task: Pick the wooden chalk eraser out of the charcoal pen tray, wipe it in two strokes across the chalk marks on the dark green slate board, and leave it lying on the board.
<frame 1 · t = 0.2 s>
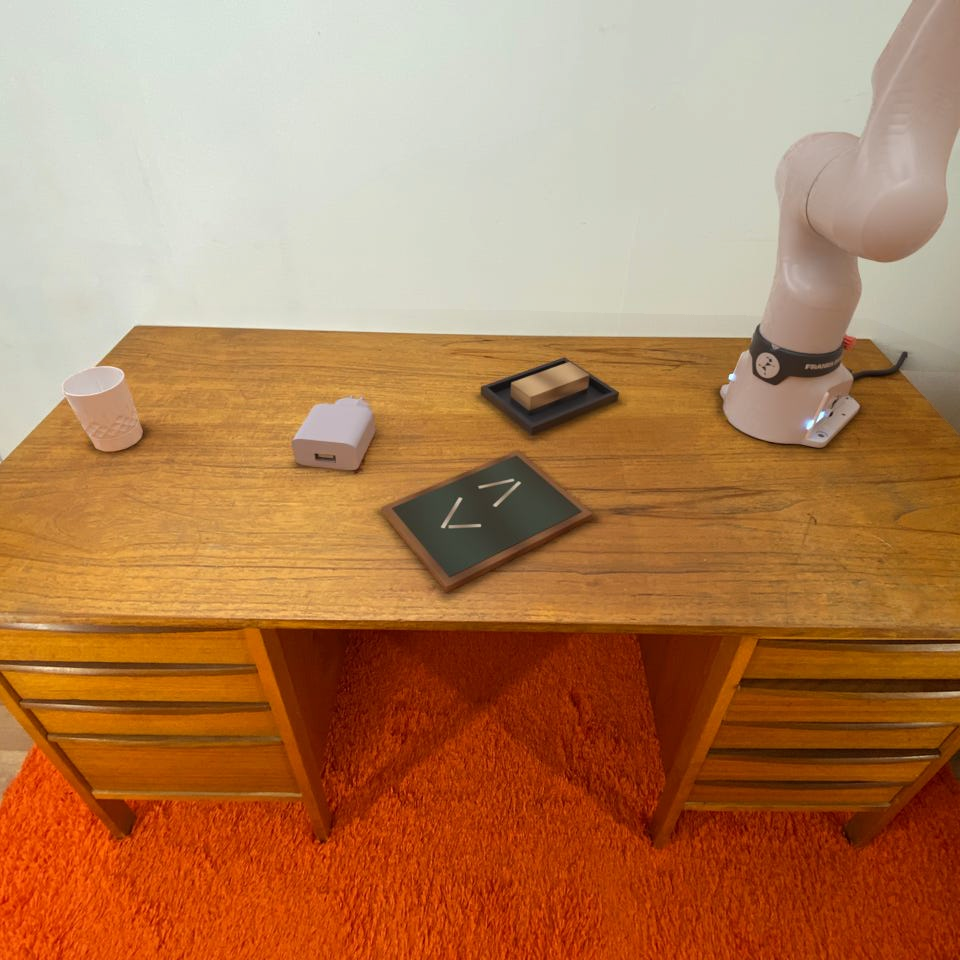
charger: (344, 438, 96), on the table
board: (486, 516, 82), on the table
pen tray: (548, 400, 104), on the table
eraser: (549, 397, 103), point 1 cm above the table, touching pen tray
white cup: (119, 439, 95), on the table
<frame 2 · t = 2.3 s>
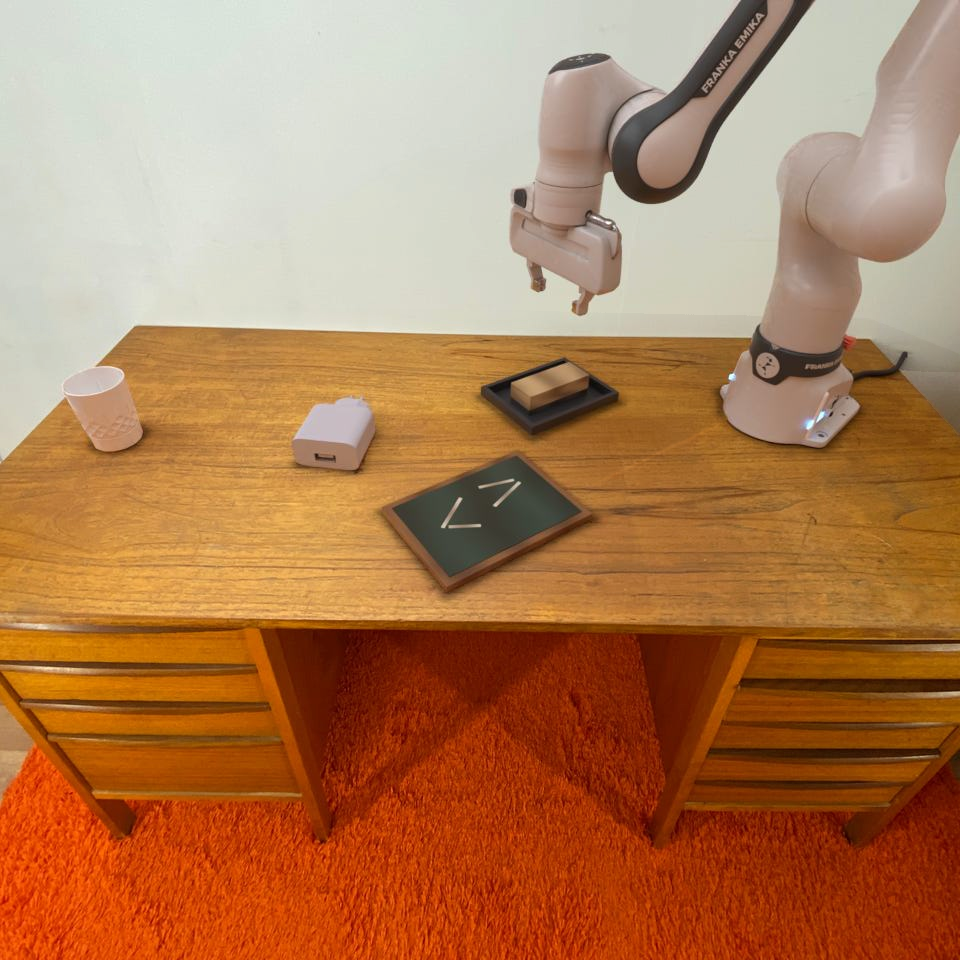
hand: (557, 301, 93), 17 cm above the table, tool pointing down, fingers open, 8 cm apart
nothing on the table moved.
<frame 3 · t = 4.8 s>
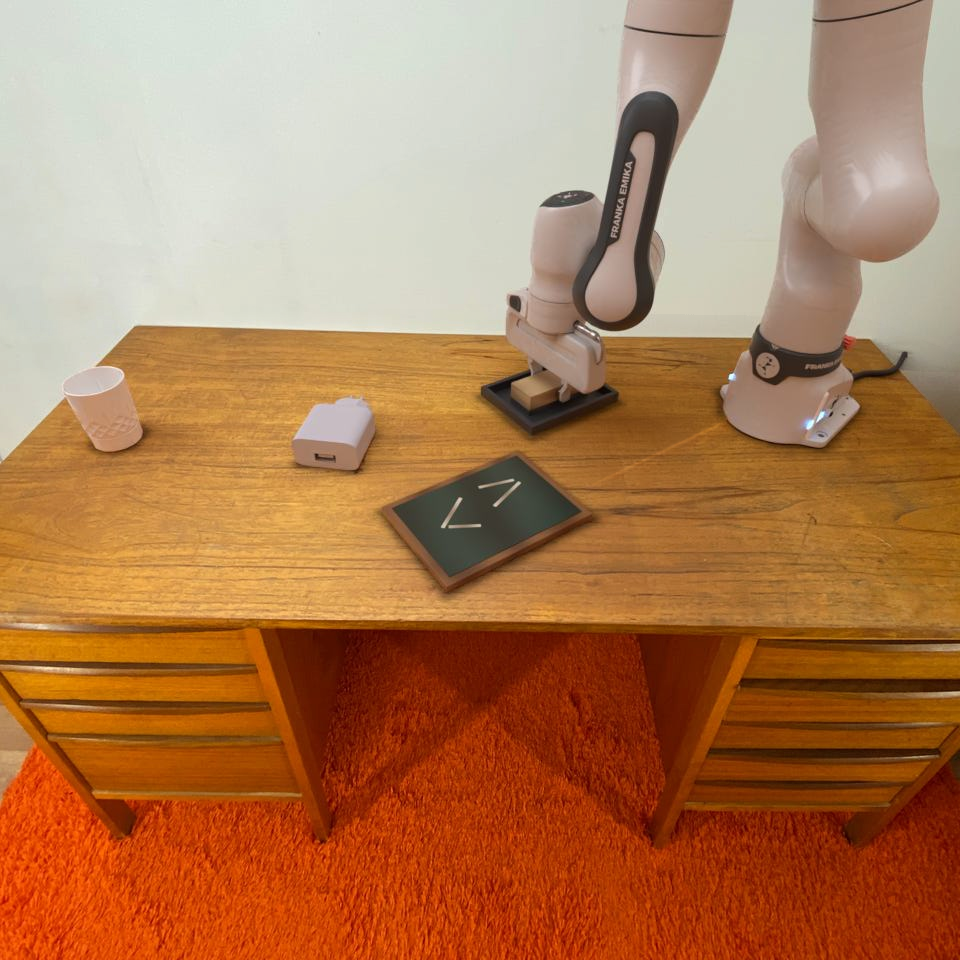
hand: (549, 390, 102), 2 cm above the table, tool pointing down, fingers closed on eraser, 5 cm apart
eraser: (549, 397, 103), point 1 cm above the table, touching gripper, pen tray
everything else where it was.
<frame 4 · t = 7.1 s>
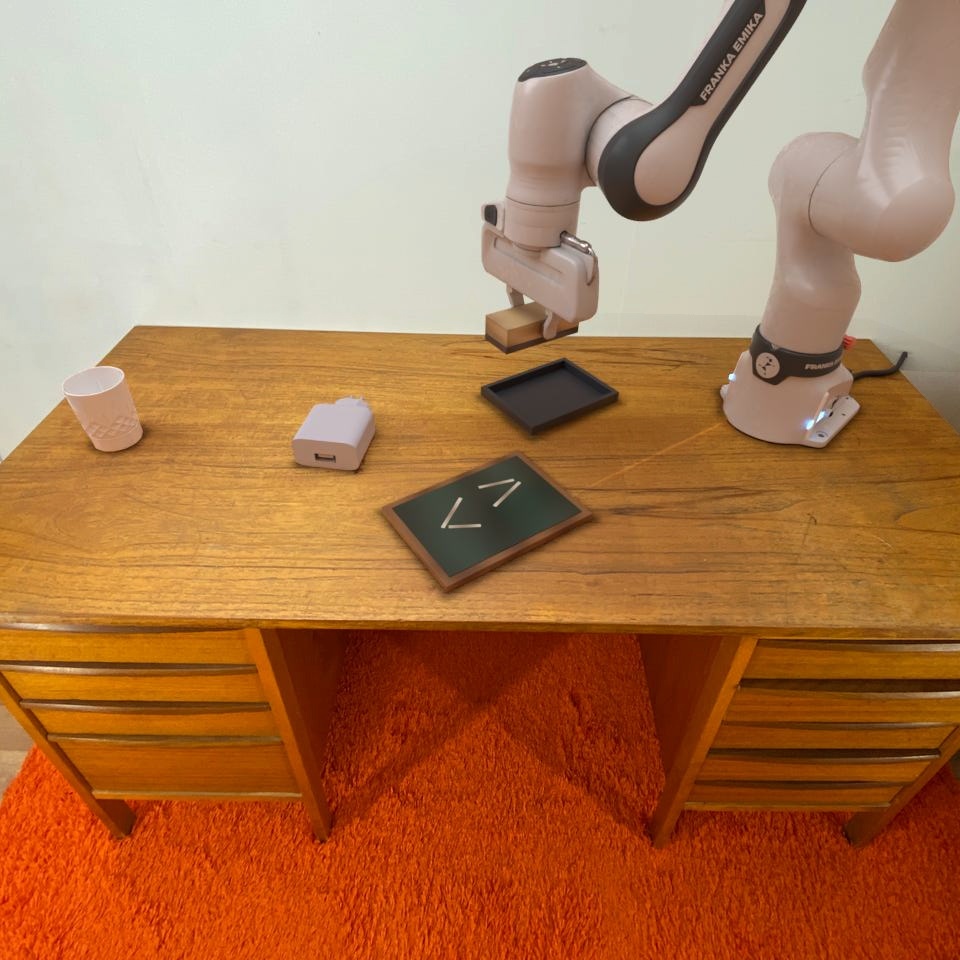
hand: (532, 326, 85), 18 cm above the table, tool pointing down, fingers closed on eraser, 5 cm apart
eraser: (531, 335, 86), point 16 cm above the table, touching gripper
everything else where it was.
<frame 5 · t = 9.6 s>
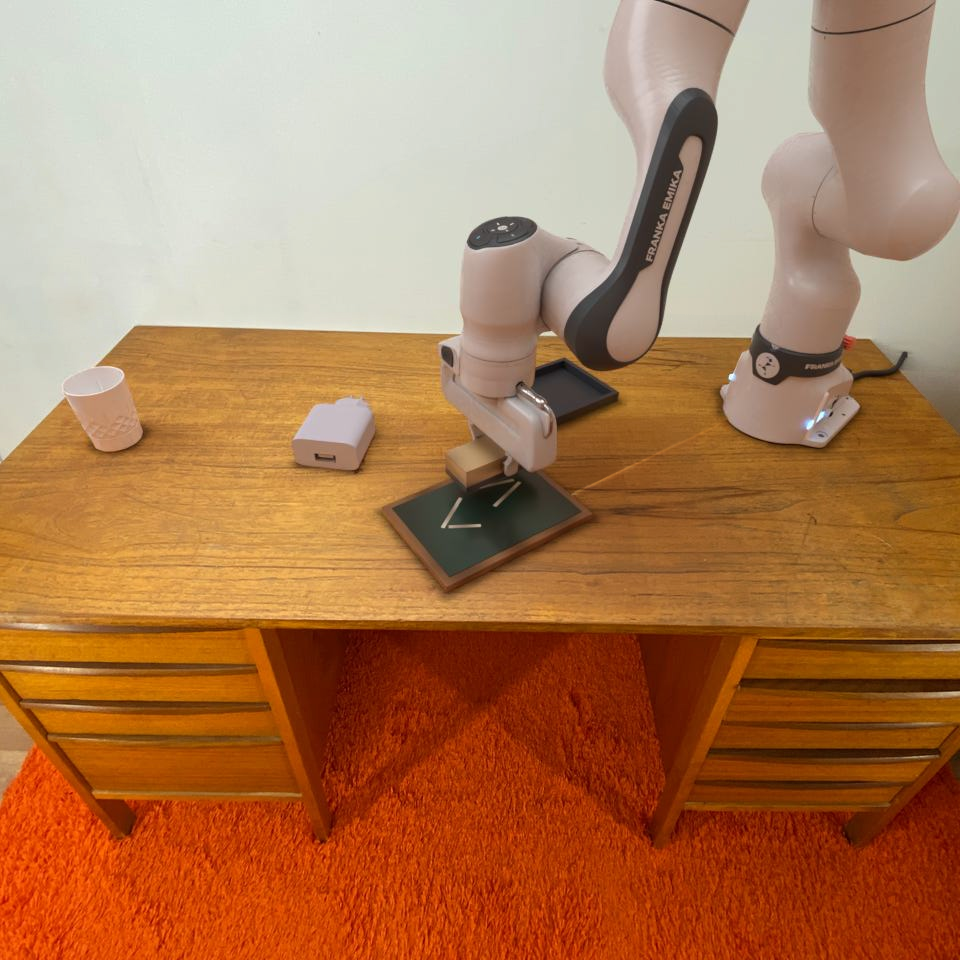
hand: (494, 459, 83), 5 cm above the table, tool pointing down, fingers closed on eraser, 5 cm apart
eraser: (494, 467, 84), point 4 cm above the table, touching gripper
everything else where it was.
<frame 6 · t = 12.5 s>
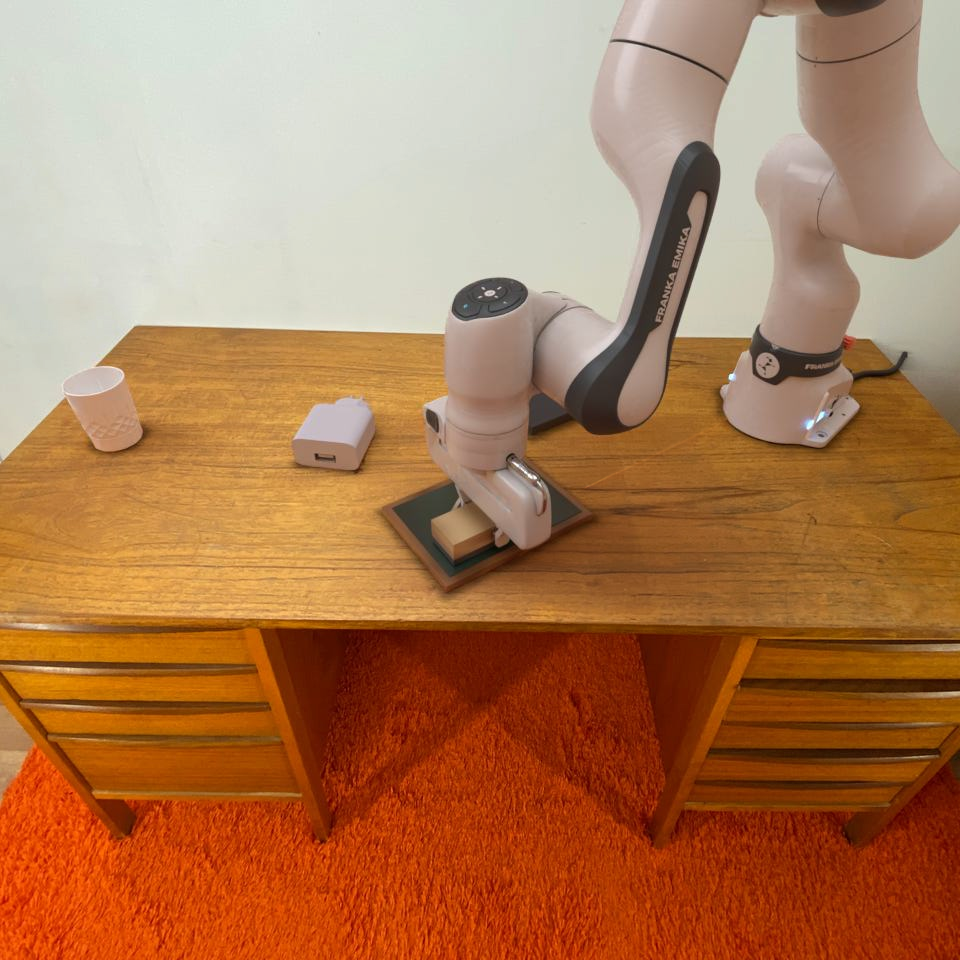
hand: (484, 526, 77), 3 cm above the table, tool pointing down, fingers closed on eraser, 5 cm apart
eraser: (484, 533, 78), point 1 cm above the table, touching gripper
everything else where it was.
when the fingers open (2 cm above the table, at t = 14.6 s): eraser stays where it is, resting on board.
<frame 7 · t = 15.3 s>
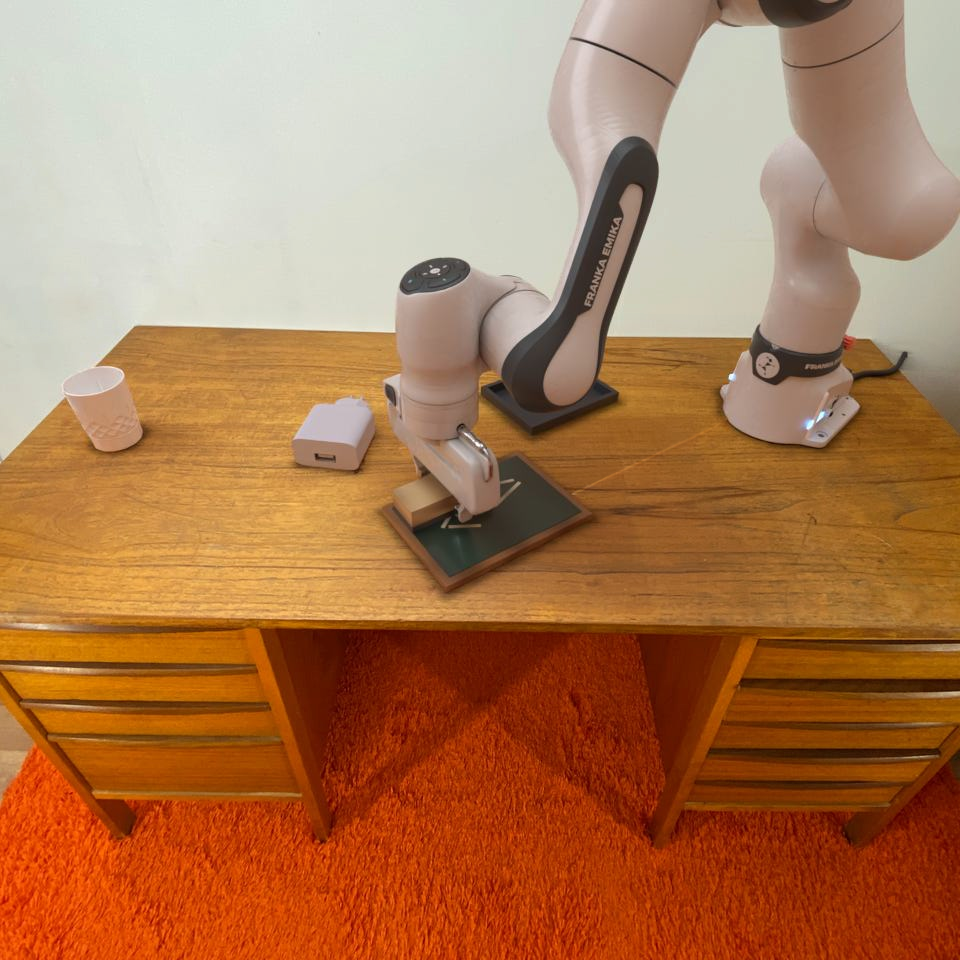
hand: (443, 496, 82), 2 cm above the table, tool pointing down, fingers open, 8 cm apart
eraser: (444, 504, 82), point 1 cm above the table, touching board
everything else where it was.
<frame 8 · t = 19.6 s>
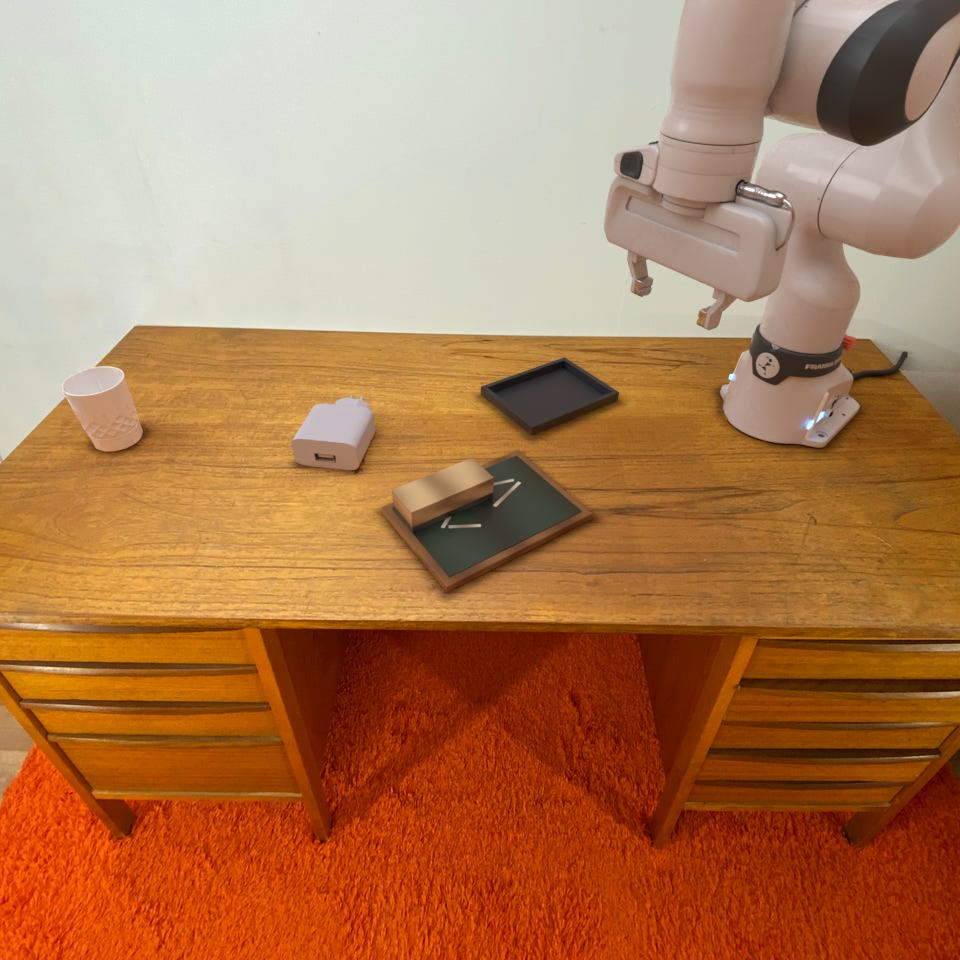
hand: (672, 309, 68), 27 cm above the table, tool pointing down, fingers open, 8 cm apart
nothing on the table moved.
at the end: eraser inside the target area on the board (0.6 cm from its centre), point 1.2 cm above the board's base; eraser tilted 0°; the gripper is holding nothing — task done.
